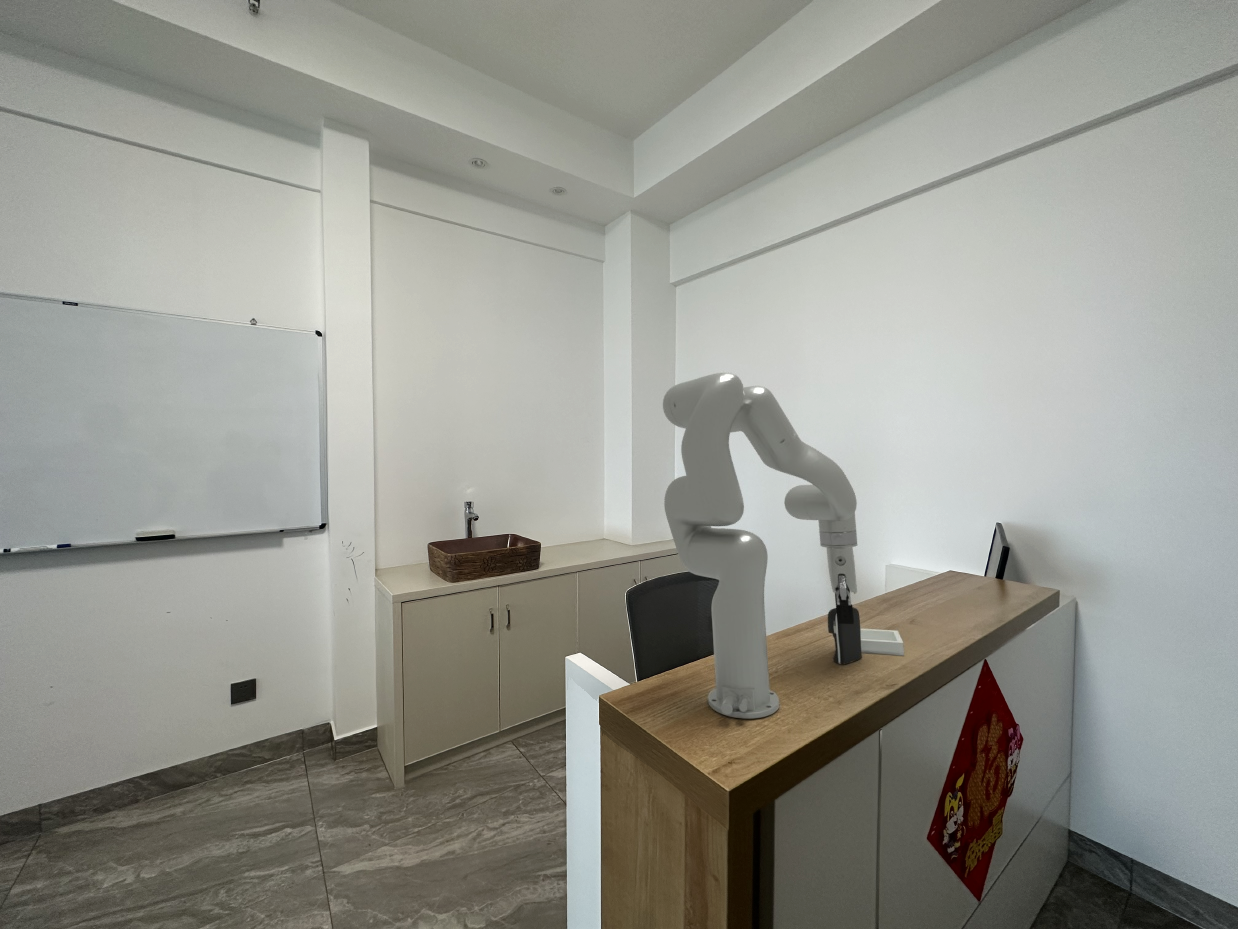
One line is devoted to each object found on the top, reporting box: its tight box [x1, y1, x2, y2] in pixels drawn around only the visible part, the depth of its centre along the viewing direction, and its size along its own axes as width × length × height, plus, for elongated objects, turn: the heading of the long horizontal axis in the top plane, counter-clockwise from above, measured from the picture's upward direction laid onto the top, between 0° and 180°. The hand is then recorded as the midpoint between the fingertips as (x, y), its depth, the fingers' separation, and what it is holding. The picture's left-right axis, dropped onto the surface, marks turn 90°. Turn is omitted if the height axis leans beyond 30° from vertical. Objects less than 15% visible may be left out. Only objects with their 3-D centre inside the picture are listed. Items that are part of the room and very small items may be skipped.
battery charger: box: [827, 606, 863, 665], centre depth 111 cm, size 7×4×11 cm, turn 120°
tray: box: [860, 628, 905, 657], centre depth 118 cm, size 9×12×3 cm
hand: (844, 616), depth 112 cm, fingers open, 9 cm apart
